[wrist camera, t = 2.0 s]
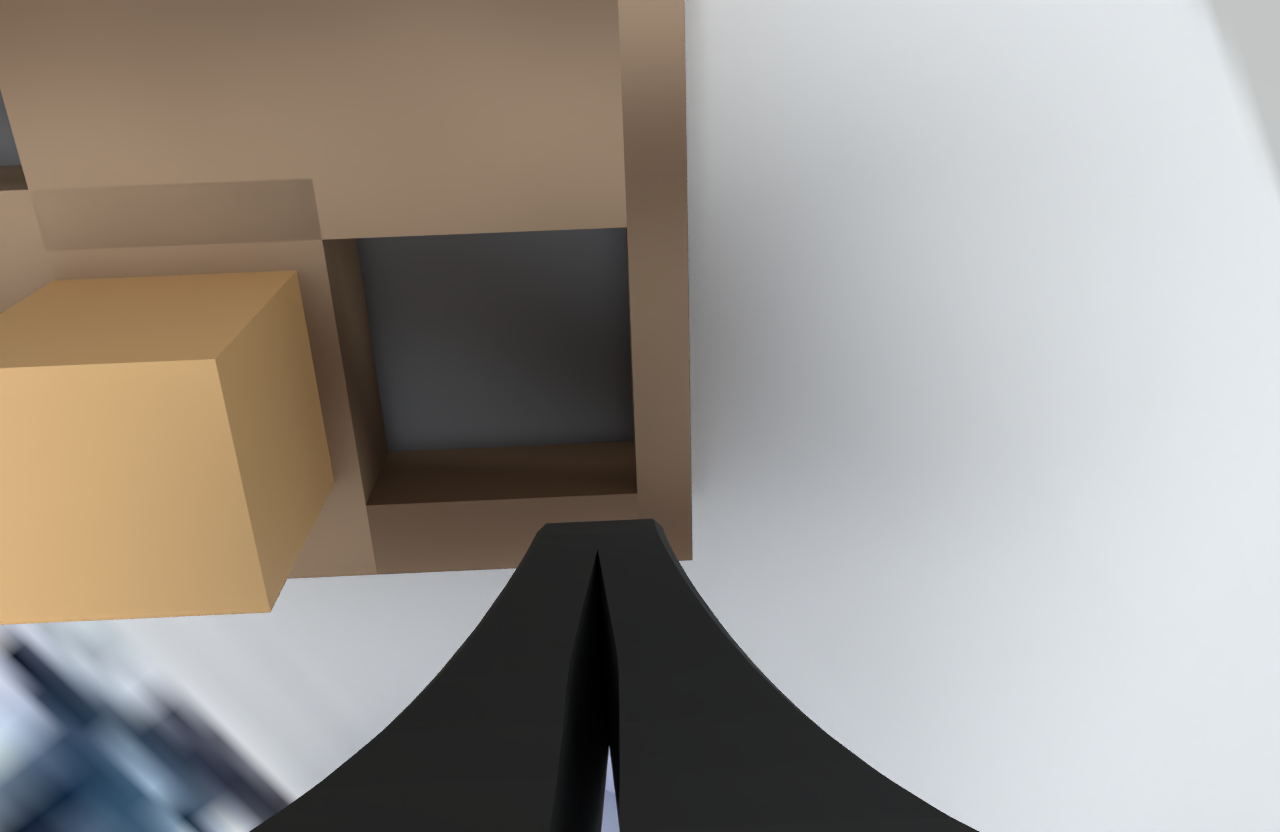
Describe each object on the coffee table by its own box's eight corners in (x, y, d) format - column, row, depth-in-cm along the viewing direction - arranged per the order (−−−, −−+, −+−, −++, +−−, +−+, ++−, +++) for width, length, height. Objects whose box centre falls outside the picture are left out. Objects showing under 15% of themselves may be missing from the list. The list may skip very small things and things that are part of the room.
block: (334, 482, 19) (270, 612, 15) (112, 493, 19) (-4, 624, 15) (296, 270, 17) (215, 359, 14) (53, 280, 17) (-93, 372, 14)
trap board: (683, 496, 22) (692, 560, 20) (-221, 536, 22) (-317, 605, 20) (669, -288, 16) (680, -324, 14) (-565, -247, 16) (-759, -276, 14)
